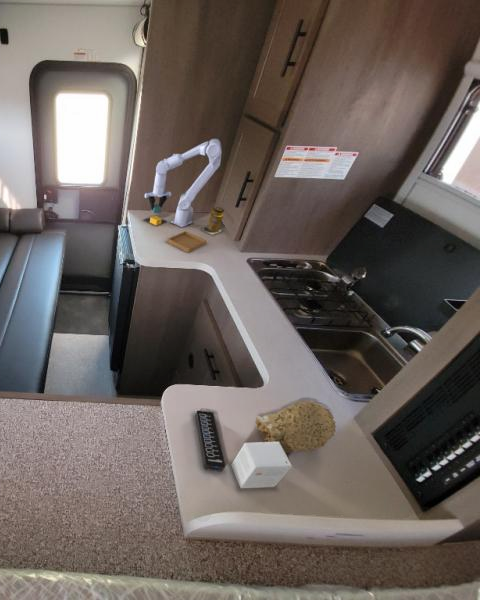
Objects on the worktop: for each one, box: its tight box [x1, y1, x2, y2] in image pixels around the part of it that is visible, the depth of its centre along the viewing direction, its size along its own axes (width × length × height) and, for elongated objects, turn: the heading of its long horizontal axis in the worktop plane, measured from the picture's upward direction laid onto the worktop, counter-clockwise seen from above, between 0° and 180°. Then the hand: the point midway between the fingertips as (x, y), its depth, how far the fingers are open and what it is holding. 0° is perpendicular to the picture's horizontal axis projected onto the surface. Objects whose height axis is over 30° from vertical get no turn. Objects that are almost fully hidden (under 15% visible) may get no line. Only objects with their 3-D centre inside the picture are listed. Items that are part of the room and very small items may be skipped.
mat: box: [143, 217, 167, 227], centre depth 185 cm, size 9×9×1 cm
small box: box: [230, 441, 293, 489], centre depth 73 cm, size 8×6×10 cm
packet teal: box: [150, 203, 162, 214], centre depth 183 cm, size 4×5×3 cm
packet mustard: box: [149, 215, 163, 226], centre depth 181 cm, size 4×5×3 cm
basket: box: [166, 230, 207, 253], centre depth 164 cm, size 14×13×2 cm
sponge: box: [255, 400, 337, 454], centre depth 83 cm, size 13×8×20 cm
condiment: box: [200, 206, 225, 236], centre depth 173 cm, size 7×8×12 cm
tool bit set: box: [194, 410, 226, 472], centre depth 82 cm, size 4×14×2 cm, turn 173°
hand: (155, 209), depth 183 cm, fingers closed on packet teal, 4 cm apart
